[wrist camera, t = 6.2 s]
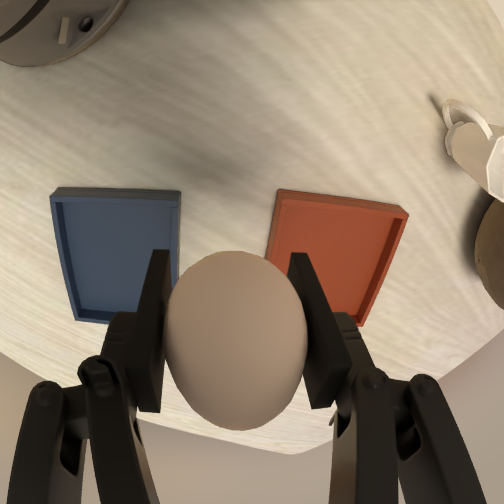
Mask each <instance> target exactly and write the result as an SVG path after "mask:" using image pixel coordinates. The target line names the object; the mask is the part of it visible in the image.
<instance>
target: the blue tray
mask: <svg viewBox="0 0 504 504" xmlns="http://www.w3.org/2000/svg"><path fill="white" fill-rule="evenodd" d="M49 197H50V205H51V212H52V219H53V225H54V231H55V237H56V242H57V248H58V253H59V258H60V262H61V267H62V272H63V276H64V280H65V284H66V288H67V292H68V296H69V300H70V304H71V308H72V311H73V315H74V318H75V320H76V321H83V322H92V323H100V324H109V322H110V320H111V319H112V317H113V316H114V315H115V314H116V313H117V312H118V311H125V312H137V308H138V304H139V300H140V296H141V292H142V288H143V284H144V280H145V276H146V273H147V269H148V265H149V262H150V258H151V255H152V251H153V249H170V265H171V280H172V290H173V288H174V287H175V285H176V283H177V281H178V280H179V230H180V204H181V192H173V191H154V190H133V189H104V188H57V189H56V190H55V191H54V192H53V193H52V194H51V195H50V196H49Z"/></svg>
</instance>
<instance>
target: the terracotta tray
mask: <svg viewBox="0 0 504 504" xmlns="http://www.w3.org/2000/svg"><path fill="white" fill-rule="evenodd" d="M408 217H409V214H408V213H407V212H406V211H405V210H404V209H403V208H402V207H400V206H398V205H392V204H385V203H379V202H372V201H366V200H359V199H352V198H345V197H337V196H330V195H322V194H314V193H305V192H297V191H288V190H278V193H277V199H276V204H275V210H274V215H273V220H272V226H271V231H270V236H269V242H268V247H267V252H266V257H265V259H266V260H268V261H269V262H271V263H272V264H273V265H274V266H275V267H277V268H278V269H279V270H280V271H281V272H282V273H284V274H285V275H286V277H287V272H288V267H289V262H290V256H291V252H305V253H307V254H308V256H309V258H310V261H311V263H312V265H313V268H314V270H315V272H316V275H317V277H318V279H319V282H320V284H321V286H322V289H323V291H324V293H325V296H326V298H327V301H328V303H329V305H330V308H331V310H332V312H347V313H348V314H349V315H350V316H351V317H352V318H353V319H354V321H355V323H356V325H357V327H363V325H364V323H365V321H366V319H367V317H368V315H369V312H370V310H371V308H372V306H373V304H374V301H375V299H376V297H377V295H378V292H379V290H380V288H381V286H382V283H383V281H384V279H385V276H386V274H387V271H388V269H389V267H390V264H391V262H392V259H393V257H394V254H395V252H396V249H397V246H398V244H399V241H400V239H401V236H402V233H403V231H404V228H405V225H406V222H407V219H408Z"/></svg>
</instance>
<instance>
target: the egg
mask: <svg viewBox="0 0 504 504" xmlns="http://www.w3.org/2000/svg"><path fill="white" fill-rule="evenodd" d="M163 345H164V353H165V359H166V362H167V364H168V367H169V369H170V372H171V374H172V377H173V379H174V382H175V384H176V386H177V388H178V389H179V391H180V392H181V394H182V395H183V397H184V398H185V400H186V401H187V402H188V404H189V405H190V406H191V408H192V409H193V410H194V411H195V412H197V413H198V414H199V415H200V416H202V417H203V418H204V419H206V420H207V421H209V422H211V423H212V424H214V425H217V426H219V427H222V428H226V429H230V430H240V431H244V430H249V429H254V428H258V427H260V426H263V425H264V424H266V423H268V422H269V421H271V420H272V419H274V418H275V417H276V416H277V415H279V414H280V413H281V412H282V411H283V410H284V409H285V408H286V406H287V405H288V404H289V403H290V402H291V400H292V398H293V396H294V394H295V392H296V390H297V388H298V385H299V383H300V381H301V378H302V374H303V370H304V366H305V361H306V357H307V353H308V334H307V322H306V318H305V314H304V310H303V307H302V303H301V301H300V298H299V296H298V294H297V292H296V291H295V289H294V287H293V286H292V284H291V282H290V281H289V279H288V278H287V277H286V275H285V274H284V273H282V272H281V271H280V270H279V269H278V268H277V267H275V266H274V265H273V264H272V263H271V262H269V261H268V260H266V259H264V258H262V257H260V256H257V255H254V254H250V253H247V252H244V251H222V252H217V253H214V254H212V255H209V256H207V257H204V258H203V259H201V260H200V261H198V262H197V263H195V264H194V265H192V266H191V267H189V268H188V269H187V270H186V271H185V272H184V274H183V275H182V276H181V277H180V278H179V280H178V281H177V283H176V285H175V287H174V288H173V290H172V292H171V294H170V296H169V298H168V302H167V305H166V309H165V313H164V324H163Z"/></svg>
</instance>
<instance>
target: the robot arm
mask: <svg viewBox="0 0 504 504" xmlns="http://www.w3.org/2000/svg"><path fill="white" fill-rule="evenodd" d="M128 1H129V0H0V60H2V61H4V62H5V63H8V64H10V65H14V66H20V67H32V66H42V65H49V64H54V63H57V62H60V61H63V60H65V59H68V58H70V57H72V56H74V55H76V54H78V53H79V52H81V51H83V50H84V49H86V48H87V47H88V46H90V45H91V44H92V43H94V42H95V41H96V40H97V39H98V38H100V37H101V36H102V35H103V34H104V33H105V32H106V31H107V30H108V29H109V28H110V27H111V25H112V24H113V23H114V22H115V21H116V20H117V18H118V17H119V15H120V14H121V13H122V11H123V10H124V8H125V7H126V5H127V3H128ZM287 278H288V279H289V281H290V282H291V284H292V286H293V287H294V289H295V291H296V292H297V294H298V296H299V298H300V301H301V303H302V307H303V310H304V314H305V318H306V322H307V334H308V353H307V357H306V361H305V366H304V370H303V377H304V381H305V385H306V389H307V393H308V397H309V401H310V405H311V409H320V408H328V407H331V405H332V404H333V402H334V400H335V402H336V405H337V410H336V411H335V413H334V415H333V417H332V418H331V420H330V422H329V426H332V424H333V422H334V434H333V453H332V469H331V482H330V494H329V504H398V477H399V481H400V484H401V488H402V492H403V495H404V499H405V502H406V504H487V503H486V500H485V497H484V494H483V491H482V488H481V485H480V483H479V480H478V477H477V474H476V471H475V469H474V466H473V463H472V461H471V458H470V455H469V453H468V450H467V448H466V445H465V443H464V440H463V438H462V436H461V434H460V431H459V428H458V426H457V424H456V421H455V419H454V417H453V415H452V412H451V410H450V408H449V406H448V403H447V401H446V399H445V397H444V395H443V393H442V390H441V388H440V387H439V384H438V383H437V381H436V380H435V379H434V378H432V377H431V376H429V375H426V374H417V375H415V376H414V377H413V378H412V379H411V380H410V381H402V380H395V379H390V378H389V377H388V376H387V375H386V373H385V372H384V371H382V370H380V369H379V368H376V367H375V365H374V363H373V361H372V358H371V356H370V354H369V352H368V349H367V347H366V345H365V343H364V340H363V339H362V336H361V334H360V332H359V331H358V327H357V325H356V323H355V321H354V319H353V318H352V317H351V316H350V315H349V314H348V313H347V312H332V310H331V308H330V305H329V303H328V301H327V298H326V296H325V293H324V291H323V289H322V286H321V284H320V282H319V279H318V277H317V275H316V272H315V270H314V268H313V265H312V263H311V261H310V258H309V256H308V254H307V253H305V252H291V256H290V262H289V267H288V272H287ZM171 292H172V280H171V265H170V249H153V251H152V255H151V258H150V262H149V265H148V269H147V273H146V276H145V280H144V284H143V288H142V292H141V296H140V300H139V304H138V308H137V312H125V311H118V312H117V313H116V314H115V315H114V316H113V317H112V319H111V320H110V322H109V326H108V329H107V332H106V336H105V341H104V343H103V346H102V350H101V353H100V355H95V356H92V357H88V358H87V359H86V360H84V361H83V362H82V363H81V365H80V366H79V367H78V372H77V375H78V377H79V379H80V381H81V383H82V385H78V386H73V387H67V388H61V387H60V386H59V385H58V384H57V383H55V382H53V381H43V382H40V383H38V384H37V385H36V386H35V387H33V389H32V391H31V393H30V395H29V398H28V402H27V405H26V409H25V412H24V416H23V420H22V424H21V428H20V432H19V437H18V441H17V446H16V450H15V455H14V460H13V465H12V470H11V476H10V482H9V489H8V496H7V504H81V494H82V482H83V471H84V461H85V452H86V444H87V439H90V446H91V453H92V459H93V465H94V471H95V477H96V482H97V488H98V492H99V497H100V502H101V504H160V502H159V499H158V496H157V493H156V489H155V486H154V483H153V479H152V476H151V472H150V468H149V465H148V461H147V457H146V454H145V449H144V445H143V441H142V436H141V433H140V428H139V423H138V420H137V418H136V413H137V406H138V408H139V411H140V412H152V413H160V410H161V397H162V385H163V374H164V364H165V353H164V345H163V324H164V313H165V309H166V305H167V302H168V298H169V296H170V294H171Z"/></svg>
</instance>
